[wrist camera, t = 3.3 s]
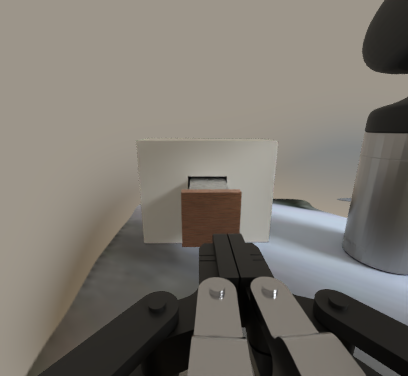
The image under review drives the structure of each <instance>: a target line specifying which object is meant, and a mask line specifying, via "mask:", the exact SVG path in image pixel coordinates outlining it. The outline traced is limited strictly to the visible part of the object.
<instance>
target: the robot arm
mask: <svg viewBox="0 0 408 376" xmlns="http://www.w3.org/2000/svg"><path fill="white" fill-rule="evenodd" d="M362 53H363V59H364V62H365V63H366V65H367V66H368V67H369V68H370V69H372V70H374V71H376V72H380V73H387V74H408V0H384V2H383V3H382V5H381V6H380V8H379V9H378V11H377V12H376V14H375V16H374V18H373V20H372V21H371V23H370V25H369V27H368V30H367V32H366V35H365V39H364V42H363V48H362ZM365 131H366V132H365V134H364V139H363V144H362V149H361V154H360V159H359V164H358V169H357V174H356V179H355V184H354V189H353V194H352V199H351V204H350V209H349V213H348V218H347V223H346V228H345V233H344V238H343V243H342V246H343V249H344V250H345V251H346V252H347V253H348V254H349V255H350V256H352V257H353V258H354V259H356V260H358V261H360V262H362V263H364V264H366V265H368V266H371V267H374V268H376V269H379V270H383V271H386V272H391V273H396V274H404V275H408V97H407V98H405V99H403V100H401V101H399V102H396V103H394V104H391V105H387V106H384V107H381V108H378V109H376V110H374V111H372V112H371V113H370V115H369V117H368V120H367V123H366V128H365ZM241 327H245V328H246V332H247V340H246V338H245V337H243V335H242V328H241ZM355 346H356V347H357V348H359V349H360V350H362V351H364V352H365V353H367V354H368V355H370V356H371V357H373V358H374V359H376V360H377V361H379V362H381V363H382V364H384V365H385V366H387V367H388V368H390V369H391V370H393V371H395V372H396V373H398V374H399V375H401V376H408V326H407V325H405V324H403V323H401V322H399V321H397V320H395V319H393V318H391V317H389V316H387V315H385V314H383V313H381V312H379V311H377V310H375V309H373V308H371V307H369V306H367V305H365V304H363V303H361V302H359V301H357V300H355V299H353V298H351V297H349V296H347V295H345V294H343V293H341V292H338V291H335V290H330V289H323V290H319V291H318V292H316V294H315V298H314V299H310V298H306V297H301V296H297V295H294V294H292V293H291V292H290V290H289V289H288V287H287V286H286V285H285V284H284V283H282V282H281V281H279V280H277V279H275V278H274V277H273V275H272V273H271V271H270V269H269V267H268V265H267V263H266V261H265V259H264V258H263V256H262V254H261V252H260V250H259V248H258V247H257V246H255V245H254V244H253V243H245V241H244V239H243V236H242V234H213V236H212V243H203V244H202V246H201V247H200V248H199V288H198V289H197V291H196V292H195V293H194V294H192V295H191V296H188V297H186V298H183V299H179V300H177V298H176V297H175V296H174V295H173V294H171V293H169V292H165V291H158V292H153V293H150V294H148V295H146V296H145V297H143V298H142V299H141V300H139V301H138V302H136V303H135V304H134V305H132V306H131V307H130V308H128V309H127V310H126V311H124V312H123V313H122V314H120V315H119V316H118V317H116V318H115V319H114V320H112V321H111V322H110V323H108V324H107V325H105V326H104V327H103V328H101V329H100V330H99V331H97V332H96V333H95V334H93V335H92V336H91V337H89V338H88V339H87V340H85V341H84V342H83V343H81V344H80V345H78V346H77V347H76V348H74V349H73V350H72V351H70V352H69V353H68V354H66V355H65V356H64V357H62V358H61V359H60V360H58V361H57V362H56V363H54V364H53V365H52V366H50V367H49V368H47V369H46V370H45V371H43V372H42V373H41V374H39V375H38V376H179V373H180V372H183V371H185V370H187V369H188V376H253V375H252V368H251V364H252V367H253V370H254V373H255V376H382V375H381V374H379V373H378V372H376V371H375V370H373V369H372V368H370V367H369V366H367V365H366V364H364V363H363V362H361V361H360V360H358V359H357V358H355V357H354V356H353V353H354V349H355ZM250 360H251V362H250Z"/></svg>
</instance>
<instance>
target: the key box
mask: <svg viewBox="0 0 408 376" xmlns="http://www.w3.org/2000/svg"><path fill="white" fill-rule="evenodd" d="M136 145H137V158H138V170H139V184H140V195H141V209H142V222H143V235H144V243H182V215H181V190H182V189H189V187H190V179H191V176H223V177H224V179H225V181H226V183H227V185H228V187H229V189H240V191H241V192H242V197H241V215H240V234H242V236H243V239H244V241H245V242H269V232H270V222H271V211H272V201H273V190H274V180H275V170H276V160H277V149H278V141H274V140H267V139H220V138H218V139H217V138H215V139H214V138H210V139H209V138H201V139H200V138H147V139H142V140H137V141H136Z"/></svg>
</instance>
